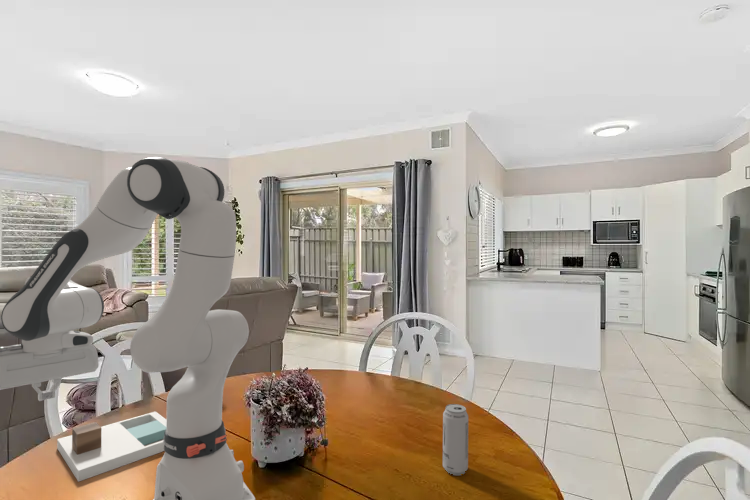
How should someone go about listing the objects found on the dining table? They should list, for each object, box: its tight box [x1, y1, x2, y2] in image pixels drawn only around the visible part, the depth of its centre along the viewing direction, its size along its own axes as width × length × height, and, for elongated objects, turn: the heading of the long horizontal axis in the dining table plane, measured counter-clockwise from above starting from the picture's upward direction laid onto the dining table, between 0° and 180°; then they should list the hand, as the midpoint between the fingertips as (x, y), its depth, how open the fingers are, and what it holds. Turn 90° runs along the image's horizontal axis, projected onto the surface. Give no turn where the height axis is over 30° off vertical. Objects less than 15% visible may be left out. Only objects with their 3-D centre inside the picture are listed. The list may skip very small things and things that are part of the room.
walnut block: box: [71, 421, 102, 455], centre depth 100 cm, size 5×5×5 cm
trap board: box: [56, 411, 167, 482], centre depth 106 cm, size 22×24×2 cm
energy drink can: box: [442, 403, 469, 476], centre depth 96 cm, size 6×6×15 cm
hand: (46, 398), depth 94 cm, fingers closed
